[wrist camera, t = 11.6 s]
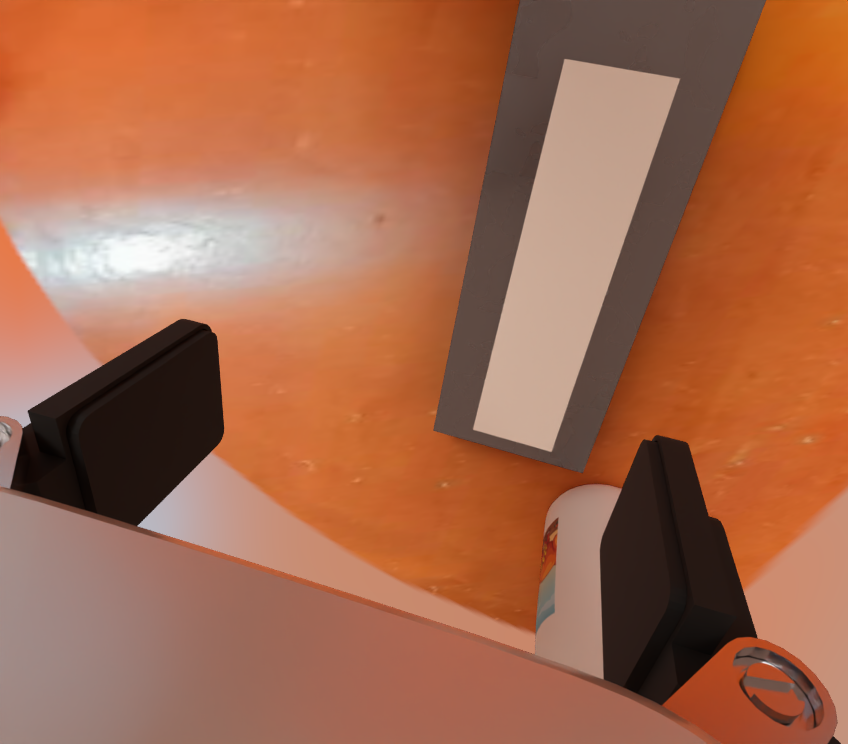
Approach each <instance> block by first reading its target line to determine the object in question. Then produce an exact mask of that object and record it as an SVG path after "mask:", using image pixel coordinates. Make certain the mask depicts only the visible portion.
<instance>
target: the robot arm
mask: <svg viewBox="0 0 848 744" xmlns="http://www.w3.org/2000/svg"><path fill="white" fill-rule="evenodd" d="M28 413H29V417H30V421H31V423H30V424H29V425H27V426H26V427H24V428H22V426H21V424H19V422H18V421H16V420H14V419H11V418H9V417H4V416H0V744H841V743H840V742H839V741H838V740H837V739H835V737H833V735H834V732H835V729H836V726H837V715H836V709H835V706H834V703H833V702H832V699H831V697H830V695H829V693H828V691H827V689H826V688H825V687H824V685H823V684H822V683H821V682H820V680H819V679H818V678H817V676H816V675H815V674H814V673H813V672H812V671H811V670H810V669H809V668H808V667H807V666H806V665H805V664H804V663H802V661H801V660H799V659H798V658H796V657H795V656H793V655H792V654H790V653H789V652H788V651H786V650H785V649H783V648H781V647H779V646H776V645H775V644H772V643H770V642H768V641H766V640H761V639H758V638H757V634H756V631H755V628H754V625H753V622H752V618H751V615H750V612H749V609H748V605H747V602H746V599H745V595H744V592H743V589H742V586H741V582H740V579H739V576H738V573H737V569H736V566H735V563H734V560H733V556H732V553H731V550H730V547H729V543H728V540H727V537H726V534H725V530H724V528H723V525H722V523H721V522H720V521H719V520H718V519H716V518H712V517H709V516H708V512H707V509H706V505H705V502H704V498H703V495H702V491H701V487H700V484H699V480H698V477H697V473H696V470H695V466H694V463H693V459H692V455H691V452H690V448H689V445H688V443H686V442H683V441H679V440H675V439H671V438H667V437H663V436H659V435H656V436H655V437H654V438H653V440H652V441H649V440H643V441H642V442H641V444H640V447H639V449H638V451H637V454H636V456H635V459H634V461H633V463H632V466H631V468H630V471H629V473H628V475H627V478H626V480H625V483H624V485H623V487H622V490H621V492H620V495H619V497H618V499H617V502H616V504H615V507H614V509H613V511H612V514H611V516H610V519H609V521H608V523H607V526H606V528H605V531H604V533H603V536H602V539H601V544H600V581H601V613H602V645H603V677H604V679H601V678H598V677H596V676H593V675H590V674H588V673H585V672H583V671H580V670H578V669H575V668H572V667H570V666H567V665H564V664H561V663H558V662H555V661H552V660H549V659H546V658H543V657H540V656H538V655H535V654H532V653H529V652H526V651H523V650H520V649H517V648H514V647H511V646H508V645H505V644H502V643H499V642H496V641H494V640H491V639H488V638H485V637H482V636H479V635H476V634H472V633H470V632H466V631H463V630H460V629H457V628H454V627H451V626H448V625H445V624H442V623H439V622H436V621H433V620H430V619H427V618H423V617H420V616H417V615H414V614H411V613H408V612H405V611H402V610H399V609H396V608H393V607H389V606H386V605H383V604H380V603H377V602H374V601H371V600H368V599H365V598H362V597H359V596H356V595H352V594H349V593H346V592H343V591H340V590H336V589H334V588H331V587H328V586H324V585H321V584H318V583H315V582H312V581H309V580H306V579H302V578H299V577H296V576H293V575H290V574H287V573H284V572H281V571H277V570H274V569H271V568H268V567H265V566H262V565H259V564H255V563H252V562H249V561H246V560H243V559H240V558H236V557H233V556H230V555H227V554H224V553H221V552H217V551H214V550H211V549H208V548H205V547H202V546H198V545H195V544H192V543H189V542H186V541H183V540H179V539H176V538H173V537H170V536H166V535H163V534H160V533H157V532H154V531H150V530H147V529H144V528H140V527H138V526H137V525H139V524H140V523H141V521H143V519H145V517H146V516H148V514H150V513H151V512H152V511H153V510H154V509H155V508H156V506H157V505H158V504H160V502H162V500H164V498H165V497H166V496H167V495H169V494H170V493H171V492H172V490H173V489H174V488H175V487H176V486H177V485H178V484H179V483H180V482H181V481H182V480H183V479H184V478H185V477H186V476H187V475H188V474H189V473H190V472H191V471H192V470H193V469H194V468H195V467H196V466H197V465H198V464H199V463H200V462H201V461H202V460H203V459H204V458H205V457H206V456H207V455H208V454H209V453H210V452H211V451H212V450H213V449H214V448H215V447H216V446H217V445H218V444H219V443H220V441H221V439H222V437H223V434H224V420H223V407H222V394H221V381H220V368H219V354H218V341H217V336H216V334H215V333H213V332H212V330H211V328H210V327H209V326H208V325H207V324H203V323H199V322H195V321H191V320H187V319H180V320H178V321H176V322H175V323H173V324H171V325H170V326H168V327H166V328H165V329H163V330H161V331H160V332H158V333H156V334H155V335H153V336H151V337H150V338H148V339H146V340H145V341H143V342H141V343H140V344H138V345H136V346H135V347H133V348H131V349H130V350H128V351H126V352H125V353H123V354H121V355H120V356H118V357H116V358H115V359H113V360H111V361H110V362H108V363H106V364H105V365H103V366H101V367H100V368H98V369H96V370H95V371H93V372H91V373H90V374H88V375H86V376H85V377H83V378H81V379H80V380H78V381H77V382H75V383H73V384H71V385H70V386H68V387H66V388H65V389H63V390H61V391H60V392H58V393H56V394H55V395H53V396H51V397H50V398H48V399H46V400H45V401H43V402H41V403H40V404H38V405H36V406H35V407H33V408H31V409H30V410H28Z"/></svg>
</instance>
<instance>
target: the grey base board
mask: <svg viewBox="0 0 848 744" xmlns="http://www.w3.org/2000/svg"><path fill="white" fill-rule="evenodd" d="M765 2H766V0H520V2H519V7H518V12H517V17H516V22H515V27H514V32H513V37H512V42H511V47H510V52H509V57H508V62H507V67H506V72H505V77H504V82H503V87H502V92H501V97H500V102H499V107H498V112H497V116H496V121H495V126H494V131H493V136H492V141H491V146H490V151H489V156H488V161H487V166H486V171H485V176H484V181H483V186H482V191H481V196H480V201H479V206H478V211H477V216H476V221H475V226H474V231H473V236H472V241H471V246H470V251H469V256H468V261H467V266H466V271H465V276H464V281H463V286H462V291H461V296H460V301H459V306H458V311H457V316H456V321H455V326H454V330H453V335H452V340H451V345H450V350H449V355H448V360H447V365H446V370H445V375H444V380H443V385H442V390H441V395H440V400H439V405H438V410H437V415H436V420H435V425H434V430H433V431H437V432H440V433H444V434H447V435H451V436H454V437H458V438H461V439H465V440H468V441H472V442H475V443H479V444H482V445H486V446H489V447H493V448H496V449H500V450H503V451H507V452H510V453H514V454H517V455H521V456H524V457H528V458H531V459H535V460H538V461H542V462H545V463H549V464H552V465H556V466H559V467H563V468H566V469H570V470H573V471H577V472H580V473H583V471H584V468H585V466H586V463H587V461H588V458H589V455H590V453H591V450H592V448H593V445H594V443H595V440H596V437H597V435H598V432H599V430H600V427H601V424H602V422H603V419H604V417H605V414H606V412H607V409H608V406H609V404H610V401H611V399H612V396H613V394H614V391H615V388H616V386H617V383H618V381H619V378H620V376H621V373H622V370H623V368H624V365H625V363H626V360H627V357H628V355H629V352H630V350H631V347H632V345H633V342H634V339H635V337H636V334H637V332H638V329H639V327H640V324H641V321H642V319H643V316H644V314H645V311H646V309H647V306H648V303H649V301H650V298H651V296H652V293H653V290H654V288H655V285H656V283H657V280H658V278H659V275H660V272H661V270H662V267H663V265H664V262H665V260H666V257H667V254H668V252H669V249H670V247H671V244H672V242H673V239H674V236H675V234H676V231H677V229H678V226H679V223H680V221H681V218H682V216H683V213H684V211H685V208H686V205H687V203H688V200H689V198H690V195H691V193H692V190H693V187H694V185H695V182H696V180H697V177H698V174H699V172H700V169H701V167H702V164H703V162H704V159H705V156H706V154H707V151H708V149H709V146H710V144H711V141H712V138H713V136H714V133H715V131H716V128H717V126H718V123H719V120H720V118H721V115H722V113H723V110H724V107H725V105H726V102H727V100H728V97H729V95H730V92H731V89H732V87H733V84H734V82H735V79H736V77H737V74H738V71H739V69H740V66H741V64H742V61H743V59H744V56H745V53H746V51H747V48H748V46H749V43H750V40H751V38H752V35H753V33H754V30H755V28H756V25H757V22H758V20H759V17H760V15H761V12H762V10H763V7H764V4H765ZM564 59H569V60H575V61H580V62H586V63H592V64H598V65H604V66H609V67H615V68H621V69H627V70H633V71H638V72H644V73H650V74H656V75H662V76H667V77H673V78H679V79H680V81H679V84H678V86H677V89H676V92H675V95H674V98H673V101H672V104H671V107H670V110H669V113H668V115H667V118H666V121H665V124H664V127H663V130H662V133H661V136H660V139H659V142H658V144H657V147H656V150H655V153H654V156H653V159H652V162H651V165H650V168H649V171H648V173H647V176H646V179H645V182H644V185H643V188H642V191H641V194H640V197H639V200H638V202H637V205H636V208H635V211H634V214H633V217H632V220H631V223H630V226H629V228H628V231H627V234H626V237H625V240H624V243H623V246H622V249H621V252H620V255H619V257H618V260H617V263H616V266H615V269H614V272H613V275H612V278H611V281H610V284H609V286H608V289H607V292H606V295H605V298H604V301H603V304H602V307H601V310H600V313H599V315H598V318H597V321H596V324H595V327H594V330H593V333H592V336H591V339H590V342H589V344H588V347H587V350H586V353H585V356H584V359H583V362H582V365H581V368H580V371H579V373H578V376H577V379H576V382H575V385H574V388H573V391H572V394H571V397H570V400H569V402H568V405H567V408H566V411H565V414H564V417H563V420H562V423H561V426H560V429H559V431H558V434H557V437H556V440H555V443H554V446H553V449H552V452H550V451H546V450H543V449H539V448H536V447H532V446H529V445H525V444H522V443H518V442H515V441H511V440H508V439H504V438H501V437H497V436H494V435H490V434H487V433H483V432H480V431H476V430H473V427H474V423H475V419H476V415H477V411H478V407H479V403H480V399H481V395H482V391H483V387H484V383H485V379H486V375H487V371H488V367H489V362H490V358H491V354H492V350H493V346H494V342H495V338H496V334H497V330H498V326H499V322H500V318H501V314H502V310H503V306H504V302H505V298H506V294H507V290H508V286H509V282H510V278H511V274H512V270H513V266H514V261H515V257H516V253H517V249H518V245H519V241H520V237H521V233H522V229H523V225H524V221H525V217H526V213H527V209H528V205H529V201H530V197H531V193H532V189H533V185H534V181H535V177H536V173H537V169H538V165H539V160H540V156H541V152H542V148H543V144H544V140H545V136H546V132H547V128H548V124H549V120H550V116H551V112H552V108H553V104H554V100H555V96H556V92H557V88H558V84H559V80H560V76H561V72H562V68H563V63H564Z"/></svg>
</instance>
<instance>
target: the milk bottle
mask: <svg viewBox="0 0 848 744" xmlns="http://www.w3.org/2000/svg"><path fill="white" fill-rule="evenodd" d="M621 490H622V489H621V488H619V487H615V486H611V485H605V484H586V485H582V486H577V487H575V488H572V489H570V490H568V491H566V492H565V493H563V494H561V495H560V496H559V497H558V498H557V499H556V500H555V501H554V502H553V503H552V505H551V506H550V508H549V510H548V512H547V516H546V521H545V529H544V539H543V550H542V561H541V571H540V582H539V594H538V607H537V619H536V638H535V655H538V656H540V657H543V658H546V659H549V660H552V661H555V662H558V663H561V664H564V665H567V666H570V667H572V668H575V669H578V670H580V671H583V672H585V673H588V674H590V675H593V676H596V677H598V678H601V679H604V677H603V645H602V613H601V581H600V544H601V539H602V536H603V533H604V531H605V528H606V526H607V523H608V521H609V519H610V516H611V514H612V511H613V509H614V507H615V504H616V502H617V499H618V497H619V495H620V492H621Z"/></svg>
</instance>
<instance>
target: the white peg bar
mask: <svg viewBox="0 0 848 744" xmlns="http://www.w3.org/2000/svg"><path fill="white" fill-rule="evenodd" d="M679 81H680V79H679V78H673V77H667V76H662V75H656V74H650V73H644V72H638V71H633V70H627V69H621V68H615V67H609V66H604V65H598V64H592V63H586V62H580V61H575V60H569V59H564V63H563V68H562V72H561V76H560V80H559V84H558V88H557V92H556V96H555V100H554V104H553V108H552V112H551V116H550V120H549V124H548V128H547V132H546V136H545V140H544V144H543V148H542V152H541V156H540V160H539V165H538V169H537V173H536V177H535V181H534V185H533V189H532V193H531V197H530V201H529V205H528V209H527V213H526V217H525V221H524V225H523V229H522V233H521V237H520V241H519V245H518V249H517V253H516V257H515V261H514V266H513V270H512V274H511V278H510V282H509V286H508V290H507V294H506V298H505V302H504V306H503V310H502V314H501V318H500V322H499V326H498V330H497V334H496V338H495V342H494V346H493V350H492V354H491V358H490V362H489V367H488V371H487V375H486V379H485V383H484V387H483V391H482V395H481V399H480V403H479V407H478V411H477V415H476V419H475V423H474V427H473V430H476V431H480V432H483V433H487V434H490V435H494V436H497V437H501V438H504V439H508V440H511V441H515V442H518V443H522V444H525V445H529V446H532V447H536V448H539V449H543V450H546V451H550V452H552V449H553V446H554V443H555V440H556V437H557V434H558V431H559V429H560V426H561V423H562V420H563V417H564V414H565V411H566V408H567V405H568V402H569V400H570V397H571V394H572V391H573V388H574V385H575V382H576V379H577V376H578V373H579V371H580V368H581V365H582V362H583V359H584V356H585V353H586V350H587V347H588V344H589V342H590V339H591V336H592V333H593V330H594V327H595V324H596V321H597V318H598V315H599V313H600V310H601V307H602V304H603V301H604V298H605V295H606V292H607V289H608V286H609V284H610V281H611V278H612V275H613V272H614V269H615V266H616V263H617V260H618V257H619V255H620V252H621V249H622V246H623V243H624V240H625V237H626V234H627V231H628V228H629V226H630V223H631V220H632V217H633V214H634V211H635V208H636V205H637V202H638V200H639V197H640V194H641V191H642V188H643V185H644V182H645V179H646V176H647V173H648V171H649V168H650V165H651V162H652V159H653V156H654V153H655V150H656V147H657V144H658V142H659V139H660V136H661V133H662V130H663V127H664V124H665V121H666V118H667V115H668V113H669V110H670V107H671V104H672V101H673V98H674V95H675V92H676V89H677V86H678V84H679Z"/></svg>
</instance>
